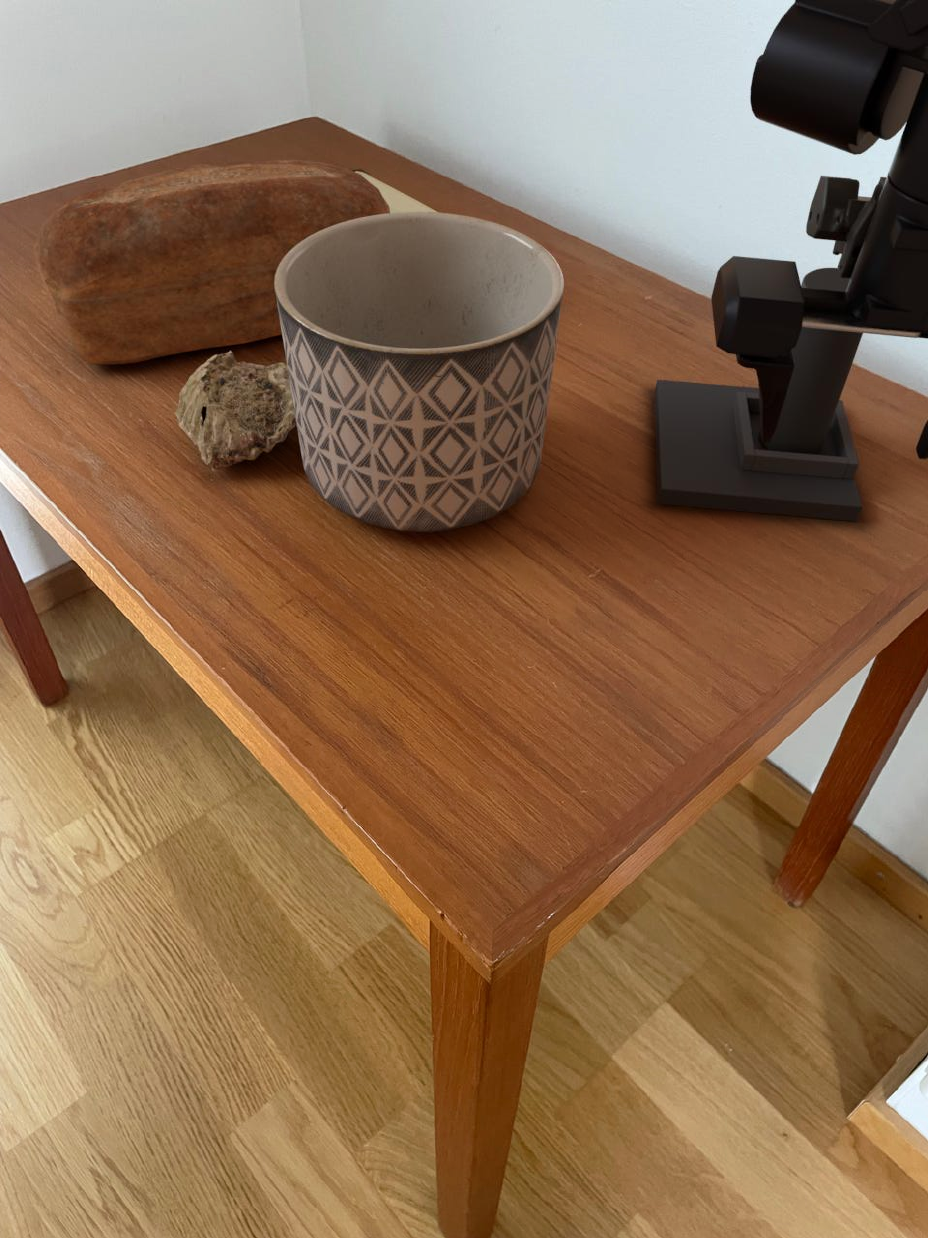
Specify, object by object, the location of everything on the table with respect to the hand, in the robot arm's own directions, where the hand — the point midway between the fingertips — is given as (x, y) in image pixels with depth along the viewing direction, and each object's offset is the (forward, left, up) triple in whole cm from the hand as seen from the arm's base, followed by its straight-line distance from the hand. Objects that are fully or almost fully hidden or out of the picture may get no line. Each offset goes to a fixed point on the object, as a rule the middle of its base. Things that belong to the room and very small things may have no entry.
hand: (842, 446), depth 58 cm
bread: (+48, -31, -13) cm, 58 cm away
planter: (+27, -11, -13) cm, 32 cm away
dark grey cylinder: (-2, -17, -12) cm, 20 cm away
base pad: (+1, -17, -13) cm, 21 cm away
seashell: (+42, -13, -13) cm, 46 cm away
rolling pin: (+32, -46, -13) cm, 58 cm away
